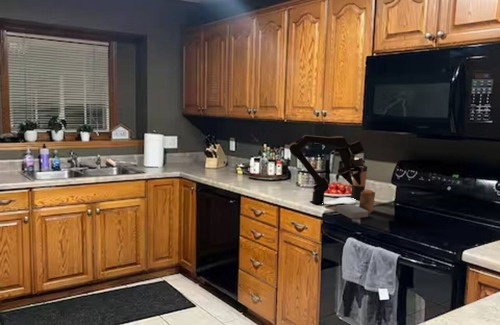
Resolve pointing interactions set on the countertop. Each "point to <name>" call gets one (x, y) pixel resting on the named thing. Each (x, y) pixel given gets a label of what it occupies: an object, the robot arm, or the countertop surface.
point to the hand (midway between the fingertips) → (356, 184)
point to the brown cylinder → (367, 201)
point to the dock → (352, 211)
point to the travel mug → (359, 188)
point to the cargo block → (368, 191)
